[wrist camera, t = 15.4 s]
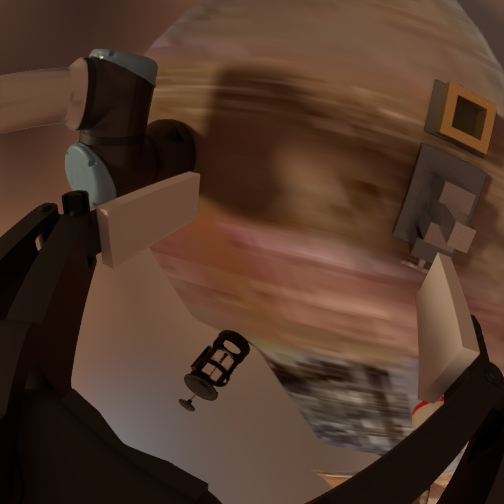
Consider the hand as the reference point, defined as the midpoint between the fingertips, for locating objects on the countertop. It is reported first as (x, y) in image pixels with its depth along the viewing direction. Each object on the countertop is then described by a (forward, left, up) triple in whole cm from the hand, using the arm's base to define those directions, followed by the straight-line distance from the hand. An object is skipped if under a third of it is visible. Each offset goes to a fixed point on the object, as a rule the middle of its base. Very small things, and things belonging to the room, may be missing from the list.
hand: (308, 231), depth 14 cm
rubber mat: (+14, +12, -34) cm, 39 cm away
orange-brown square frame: (+14, +12, -34) cm, 39 cm away
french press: (-16, -53, -35) cm, 66 cm away
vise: (+15, -4, -34) cm, 38 cm away
